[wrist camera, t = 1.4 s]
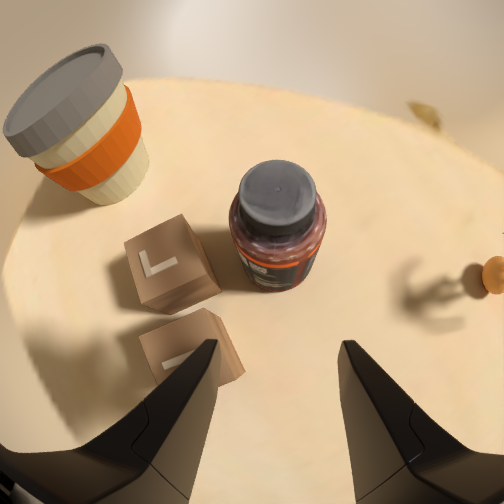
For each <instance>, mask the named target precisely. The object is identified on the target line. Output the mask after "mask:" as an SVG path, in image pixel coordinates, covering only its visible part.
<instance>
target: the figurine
mask: <svg viewBox="0 0 504 504" xmlns="http://www.w3.org/2000/svg"><path fill="white" fill-rule="evenodd" d="M503 234H504V233H503ZM482 281H483V284H484V286H485V288H486V289H487V290H488V291H489V292H490V293H492V294H501V293H503V292H504V257H501V256H495V257H492V258H491V259H489V260H488V261H487V262H486V264H485V266H484V268H483V271H482Z"/></svg>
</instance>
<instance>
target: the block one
mask: <svg viewBox="0 0 504 504" xmlns="http://www.w3.org/2000/svg"><path fill="white" fill-rule="evenodd" d="M208 338H209V339H218V340H219V343H220V350H221V367H220V375H219V383H218V387H220V386H222V385H225V384H227V383H230V382H232V381H235V380H237V379H238V378H239V377H240V376H241V375H242V374H243V373H244V372H246V371H245V369H244V367H243V365H242V363H241V361H240V359H239V357H238V355H237V353H236V350H235V348H234V346H233V344H232V342H231V340H230V337H229V335H228V333H227V331H226V329H225V326H224V324H223V322H222V320H221V318H220V317H218V316H217V315H215V314H213V313H211V312H210V311H208V310H206V309H205V308H202V309H200V310H198V311H195V312H193V313H191V314H189V315H186V316H184V317H182V318H180V319H177V320H175V321H173V322H170V323H168V324H166V325H164V326H161V327H159V328H157V329H154V330H152V331H150V332H147V333H145V334H143V335H140V336H139V339H140V342H141V345H142V347H143V350H144V353H145V355H146V358H147V360H148V363H149V366H150V368H151V371H152V373H153V375H154V378H155V380H156V383H157V385H159V384H160V383H161V382H162V381H163V380H164V379H166V378H167V377H168V376H169V375H170V374H171V373H172V372H173V371H174V370H175V369H176V368H177V367H178V366H179V365H180V364H181V363H182V362H183V361H184V360H185V359H186V358H187V357H188V356H189V355H190V354H191V353H192V352H193V351H194V350H195V349H196V348H197V347H198V346H199V345H200V344H201V343H202V342H203V341H204V340H206V339H208Z"/></svg>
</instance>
